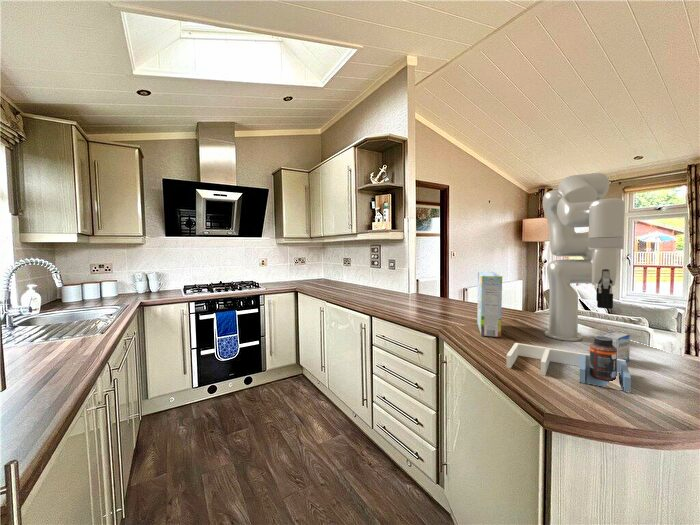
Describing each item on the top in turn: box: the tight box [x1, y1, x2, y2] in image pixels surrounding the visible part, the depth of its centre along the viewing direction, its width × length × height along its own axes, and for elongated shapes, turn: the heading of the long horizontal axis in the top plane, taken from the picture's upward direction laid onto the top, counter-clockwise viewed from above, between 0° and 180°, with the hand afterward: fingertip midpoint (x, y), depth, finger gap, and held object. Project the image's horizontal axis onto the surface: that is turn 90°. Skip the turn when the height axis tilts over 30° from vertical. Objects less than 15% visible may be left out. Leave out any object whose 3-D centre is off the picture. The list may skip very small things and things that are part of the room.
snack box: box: [476, 271, 503, 338], centre depth 135 cm, size 22×9×26 cm, turn 161°
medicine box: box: [601, 331, 631, 362], centre depth 97 cm, size 8×4×9 cm, turn 117°
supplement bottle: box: [589, 335, 617, 381], centre depth 86 cm, size 6×6×11 cm
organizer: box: [505, 342, 632, 392], centre depth 92 cm, size 15×29×4 cm, turn 52°
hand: (604, 304), depth 85 cm, fingers open, 9 cm apart
